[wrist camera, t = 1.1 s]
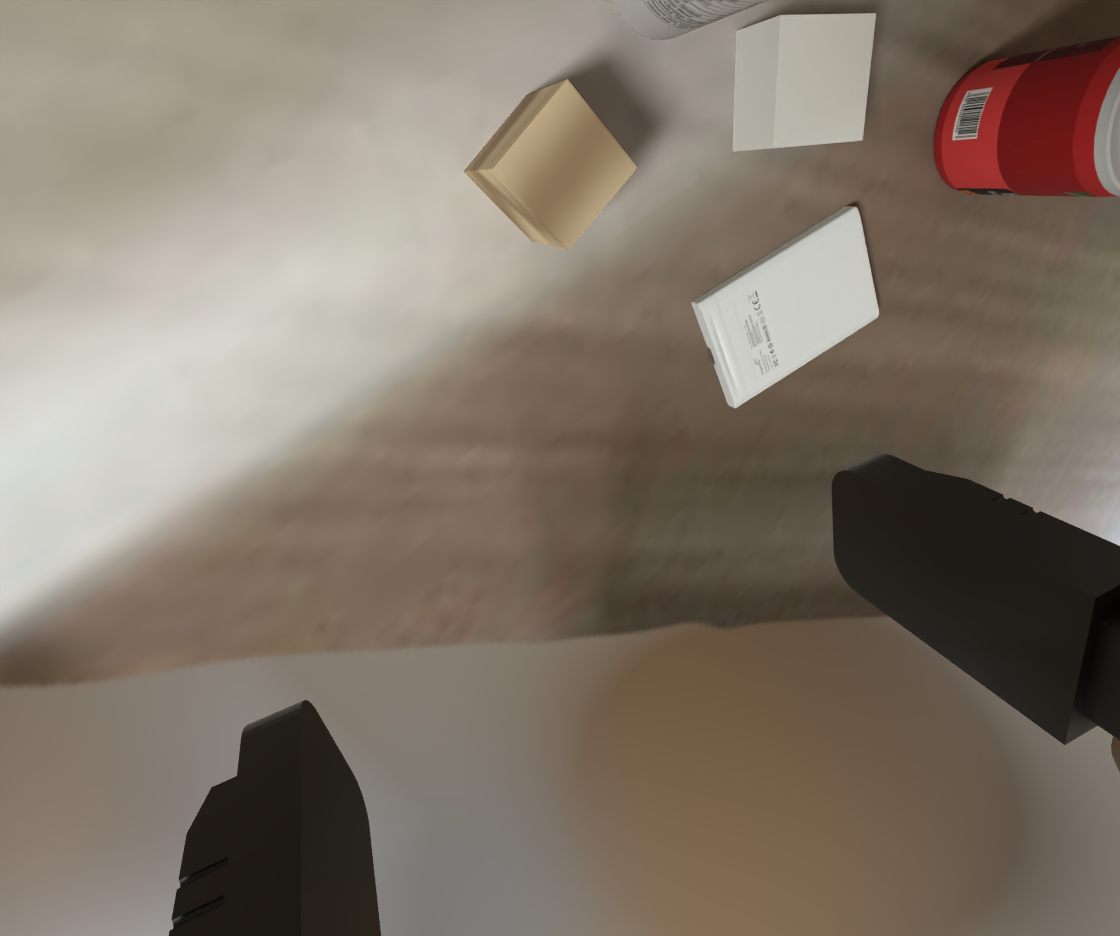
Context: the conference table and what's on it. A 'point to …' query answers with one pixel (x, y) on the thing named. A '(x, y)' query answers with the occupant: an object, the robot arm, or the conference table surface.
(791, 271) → the external hard drive
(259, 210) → the conference table surface
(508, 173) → the oak block
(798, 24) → the pale grey block
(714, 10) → the energy drink can
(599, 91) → the conference table surface
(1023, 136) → the canned food
